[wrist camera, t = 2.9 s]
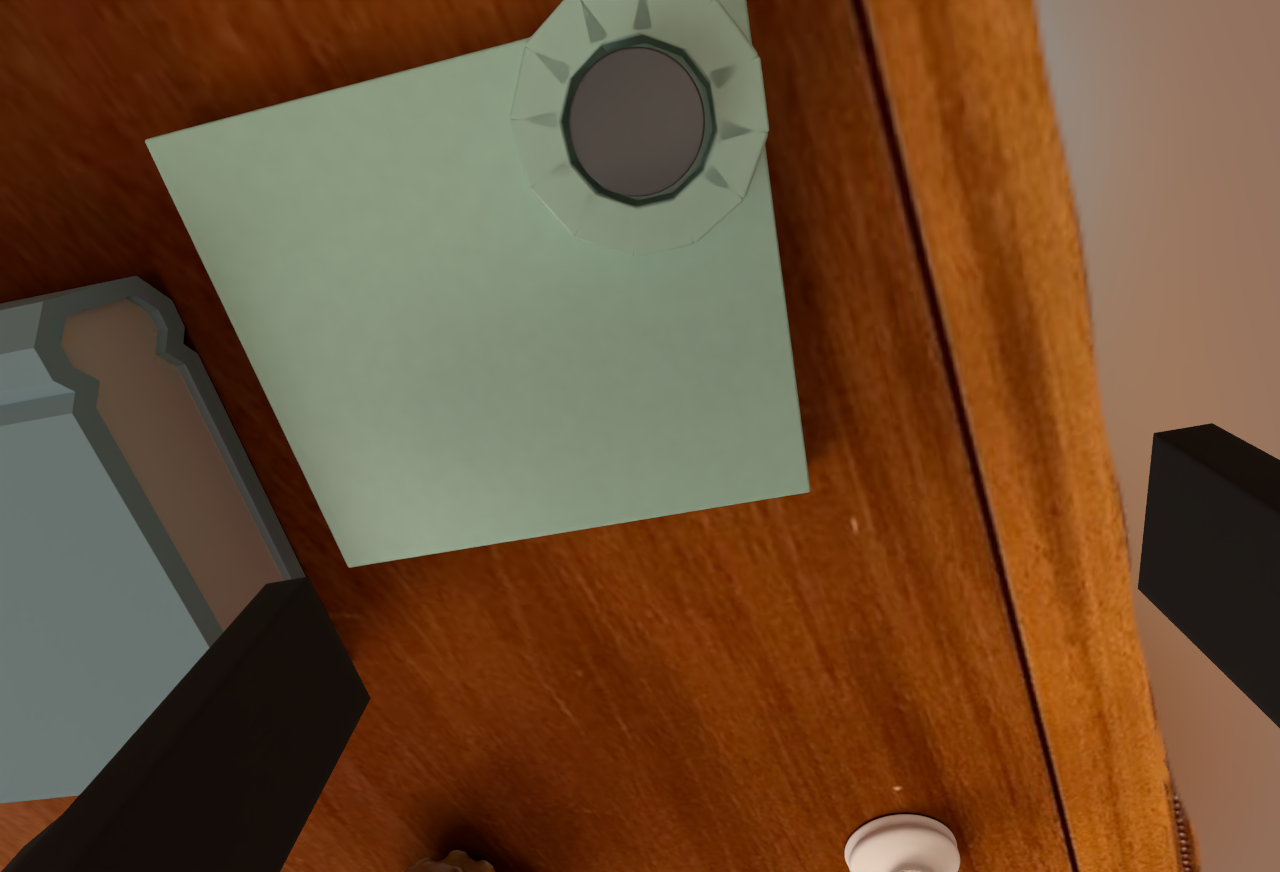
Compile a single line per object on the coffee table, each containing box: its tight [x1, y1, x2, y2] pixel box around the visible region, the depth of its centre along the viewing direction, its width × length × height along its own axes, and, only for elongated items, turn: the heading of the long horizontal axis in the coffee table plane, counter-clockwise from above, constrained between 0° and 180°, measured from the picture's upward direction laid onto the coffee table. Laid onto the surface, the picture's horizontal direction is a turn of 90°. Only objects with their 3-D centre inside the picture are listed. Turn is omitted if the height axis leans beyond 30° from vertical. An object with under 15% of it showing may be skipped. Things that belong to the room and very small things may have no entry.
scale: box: [145, 0, 810, 568], centre depth 19 cm, size 16×14×3 cm
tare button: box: [569, 46, 705, 197], centre depth 15 cm, size 3×3×1 cm
